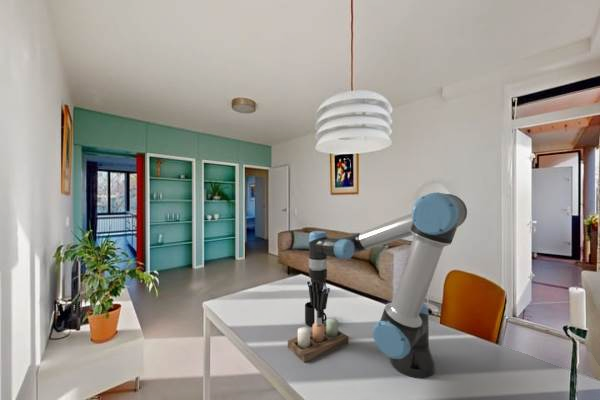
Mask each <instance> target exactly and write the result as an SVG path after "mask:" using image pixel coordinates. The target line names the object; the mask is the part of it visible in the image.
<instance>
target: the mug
mask: <svg viewBox="0 0 600 400" xmlns="http://www.w3.org/2000/svg"><path fill="white" fill-rule="evenodd" d="M327 319H328V318H327V314H326V313H325V309H324V310H322V323H323V324H324V325H325V322H326V320H327ZM304 323H305V325H306V326H307V327H311V328H313V324H314V323H315V315H314V308H313V305H311V302H310V301H308V302H306V303H305V304H304Z"/></svg>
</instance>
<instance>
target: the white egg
mask: <svg viewBox="0 0 600 400" xmlns="http://www.w3.org/2000/svg"><path fill="white" fill-rule="evenodd" d="M310 332H311V330H310V328H309V327H305V326H303V327H299V328H298V329H297V337H298V347H299V348H300V349H301V350H303V349H306V348H308V347H310Z"/></svg>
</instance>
